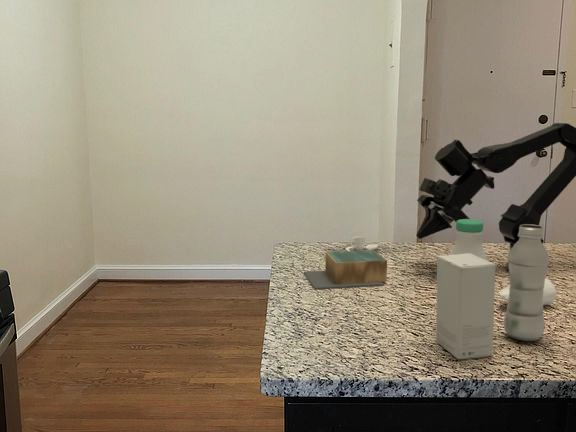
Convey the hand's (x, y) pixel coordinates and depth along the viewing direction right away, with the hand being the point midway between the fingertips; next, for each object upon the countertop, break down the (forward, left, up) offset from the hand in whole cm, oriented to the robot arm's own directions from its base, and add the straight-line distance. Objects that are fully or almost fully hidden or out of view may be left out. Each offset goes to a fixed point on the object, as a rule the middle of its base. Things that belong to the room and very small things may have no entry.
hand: (417, 237), depth 138 cm
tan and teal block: (+4, -8, -6) cm, 11 cm away
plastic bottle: (+33, +22, -9) cm, 41 cm away
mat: (+9, -16, -9) cm, 21 cm away
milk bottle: (+31, +12, -9) cm, 35 cm away
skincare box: (+41, +12, -10) cm, 44 cm away
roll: (+16, +23, -10) cm, 29 cm away
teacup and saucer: (-18, -16, -10) cm, 26 cm away
